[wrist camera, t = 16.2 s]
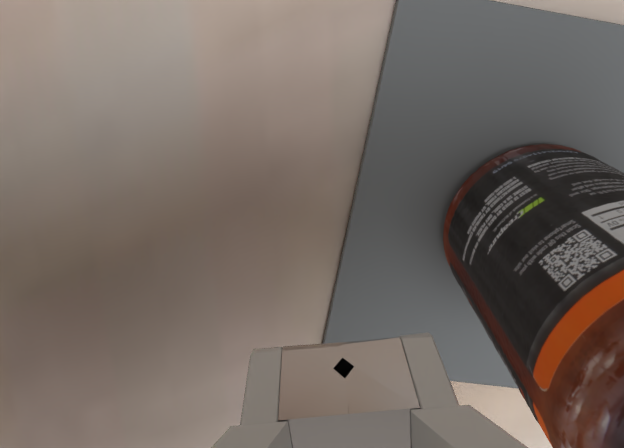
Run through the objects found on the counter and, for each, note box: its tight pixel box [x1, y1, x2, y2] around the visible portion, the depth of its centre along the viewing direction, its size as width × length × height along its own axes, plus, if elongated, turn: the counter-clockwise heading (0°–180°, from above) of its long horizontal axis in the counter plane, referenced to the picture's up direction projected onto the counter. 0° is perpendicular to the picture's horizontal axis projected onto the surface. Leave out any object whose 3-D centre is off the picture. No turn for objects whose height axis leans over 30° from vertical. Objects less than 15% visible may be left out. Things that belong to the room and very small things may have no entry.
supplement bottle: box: [443, 144, 624, 448], centre depth 12 cm, size 6×6×11 cm
